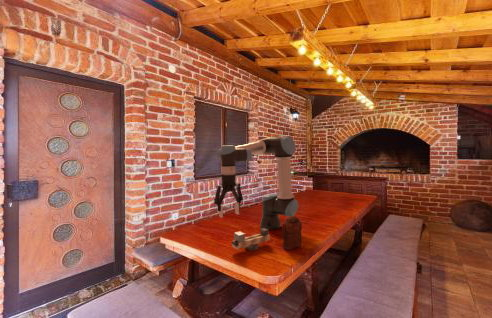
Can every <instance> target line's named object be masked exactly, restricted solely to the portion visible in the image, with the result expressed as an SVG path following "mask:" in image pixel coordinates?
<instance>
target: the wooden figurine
mask: <svg viewBox="0 0 492 318" xmlns="http://www.w3.org/2000/svg"><path fill="white" fill-rule="evenodd" d="M302 230H303V224H302V221H300V219H299V218H298V217H297V216H295V215H294V216H287V218H286V219H285V221H284V222H283V224H282V231H281V233H282V234H281V236H282V239H283V240H282V249H284V250H294V249H297V248H300V247H301V245H302V239H303V238H302V237H303V236H302Z"/></svg>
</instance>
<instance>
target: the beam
mask: <svg viewBox="0 0 492 318" xmlns="http://www.w3.org/2000/svg"><path fill="white" fill-rule="evenodd" d="M270 240H271V237H270V234H269V229H265V228H260V233H257V234H253V235H249V236H245V241H243V242H237V241H235V240H234V239H233V240H231V247H232V248H234V249H235V250H239V249H247V250H248V251H250V252H252V251H255V250H259V244H261V243H265V242H268V241H270Z"/></svg>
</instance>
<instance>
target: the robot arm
mask: <svg viewBox="0 0 492 318" xmlns="http://www.w3.org/2000/svg"><path fill="white" fill-rule="evenodd" d="M296 147H297V146H296V143H295V140H294V139H293V138H292V137H291V136H285V135H284V136H270V137H266V138H263V139H262V138H261V139H260V140H256V142H251V143H247V144H245V143H244V144H243V145H242V144H241V145H237V146H235V145H234V144H227V145H226V144H223V145H221V148H219V149H218V150H217V151H216V158H217V159H218V161H220V163H221V164H220V165H221V167H220V168H221V170H220V171H221V177H220V178H221V184H220V185H219V184H217V185H216V191H215V194H214V195H215V197H214V199H213V200H214V201H213V204H214V205H217V211H218V217H220V218H224V215H223V214H224V213H223V209H224V208H223V207H224V206H223V201H224V199H225V196H226V194H227V193H229V192H231V193H232V195H233V197H234V199H235V202H234V213H235V214H236V215H237V216H238V215H240V208H241V203H242V201H244V197H243V194H242V189H241V187H242V186H241V183H239V182H236V179H237V175H236V163H246V162H249V161H251V160H252V157H253V155H256V154H257V155H258V154H259V155H264V154H268V155H269V154H270V155H274V158H275V159H276V160H277V161H276V162H277V181H278V193H277V194H276V193H272V194H271V193H270V194H264V195H263V196H262V199H261V206H262V207H261V208H262V209H261V210H262V211H261V212H262V214H261V215H262V216H261V219H260V222H259V227H260V229H262V228H265V229H268V230H278V229H281V227H282V223H281V219H280V217H279V215H280V216H281V215H282V216H283V217H284V216H285V217H290V216H295V215H296V214H297V212H298V210H299V202H298V200H296V199H295V195H294V194H293V192H292V191H293V190H292V188H293V187H292V171H291V169H292V168H291V167H292V166H291V158H293V155H294V154H295V153H296Z"/></svg>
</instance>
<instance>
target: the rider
mask: <svg viewBox="0 0 492 318" xmlns="http://www.w3.org/2000/svg"><path fill="white" fill-rule="evenodd" d="M245 237H246V233H244V232H243V231H241V230H240V231H236V232H234V233H233V240H235V241H237V242H243V241H245Z"/></svg>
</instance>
